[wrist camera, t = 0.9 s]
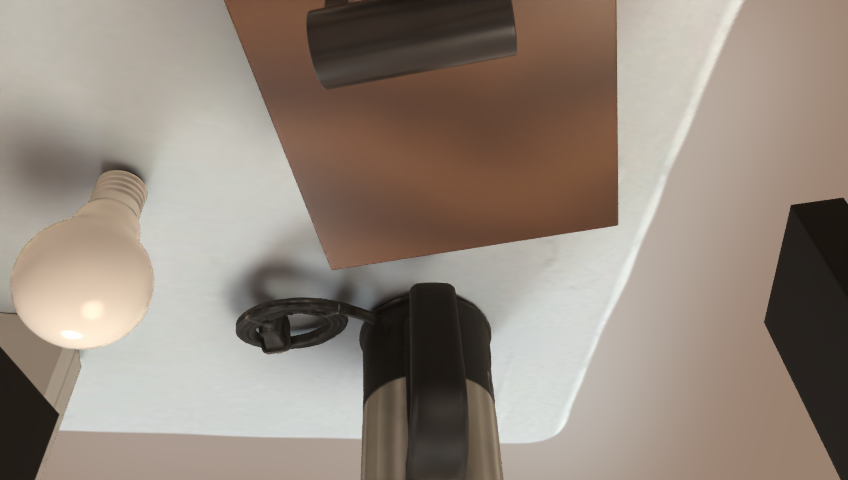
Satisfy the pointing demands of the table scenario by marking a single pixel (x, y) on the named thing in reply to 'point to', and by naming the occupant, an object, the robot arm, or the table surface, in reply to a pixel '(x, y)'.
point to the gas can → (41, 367)
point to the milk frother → (407, 380)
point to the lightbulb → (88, 270)
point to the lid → (440, 118)
